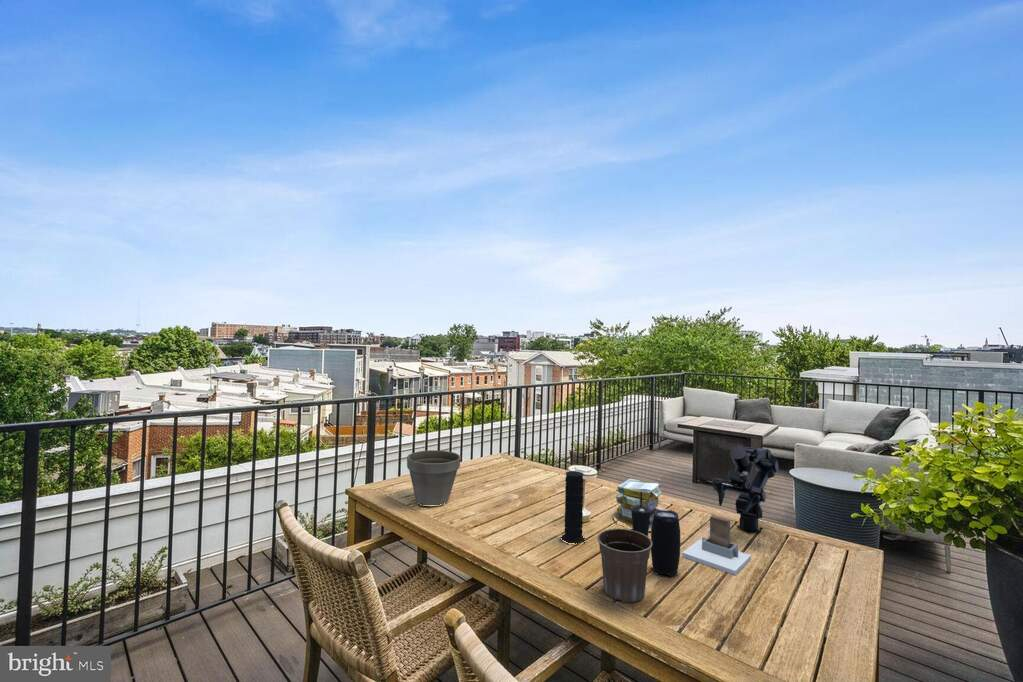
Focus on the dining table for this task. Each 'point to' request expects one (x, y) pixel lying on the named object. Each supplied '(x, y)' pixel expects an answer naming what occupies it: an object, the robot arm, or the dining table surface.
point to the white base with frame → (717, 556)
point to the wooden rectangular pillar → (720, 531)
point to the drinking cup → (641, 517)
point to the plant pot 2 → (624, 563)
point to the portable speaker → (665, 542)
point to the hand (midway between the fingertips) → (732, 508)
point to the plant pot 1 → (433, 475)
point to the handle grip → (573, 507)
